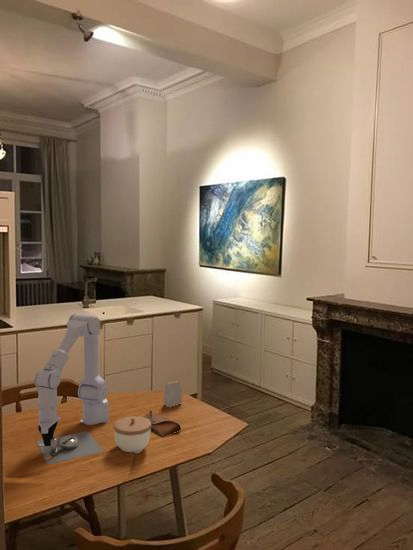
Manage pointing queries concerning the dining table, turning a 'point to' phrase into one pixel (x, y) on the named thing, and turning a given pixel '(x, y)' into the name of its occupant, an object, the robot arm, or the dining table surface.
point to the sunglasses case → (162, 424)
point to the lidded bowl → (132, 433)
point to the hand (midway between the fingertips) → (48, 445)
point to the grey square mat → (83, 449)
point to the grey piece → (63, 444)
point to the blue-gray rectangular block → (172, 394)
